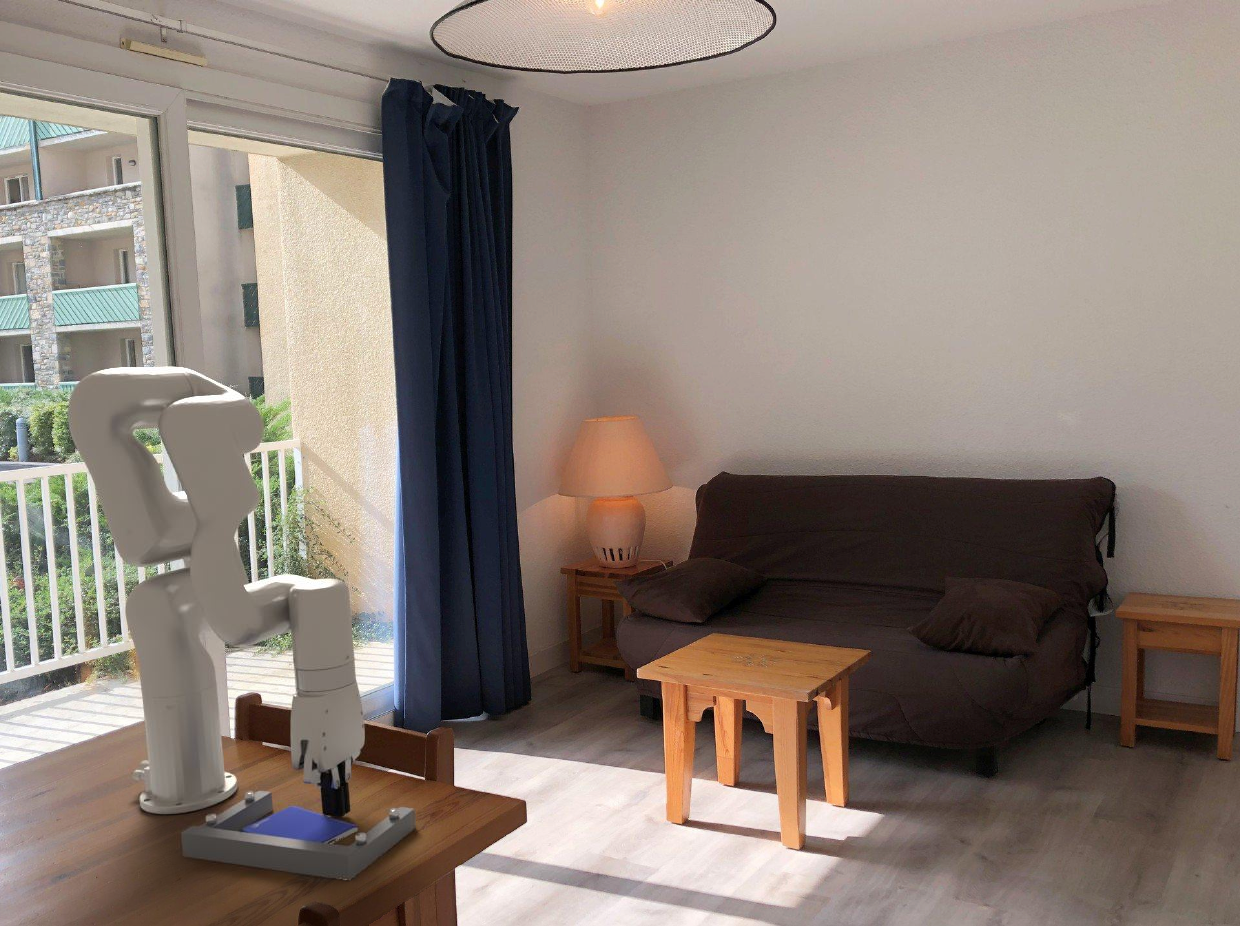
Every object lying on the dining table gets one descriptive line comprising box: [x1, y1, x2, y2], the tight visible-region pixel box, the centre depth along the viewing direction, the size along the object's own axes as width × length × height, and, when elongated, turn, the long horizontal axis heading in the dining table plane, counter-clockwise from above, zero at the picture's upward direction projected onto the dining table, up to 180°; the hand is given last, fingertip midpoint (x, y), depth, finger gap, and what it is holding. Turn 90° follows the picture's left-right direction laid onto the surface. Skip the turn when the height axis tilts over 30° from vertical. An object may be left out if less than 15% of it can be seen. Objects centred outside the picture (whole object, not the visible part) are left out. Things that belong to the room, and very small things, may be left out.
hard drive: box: [241, 805, 359, 844], centre depth 130 cm, size 2×8×12 cm
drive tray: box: [180, 790, 416, 881], centre depth 127 cm, size 24×14×4 cm, turn 70°
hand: (336, 813), depth 134 cm, fingers closed
